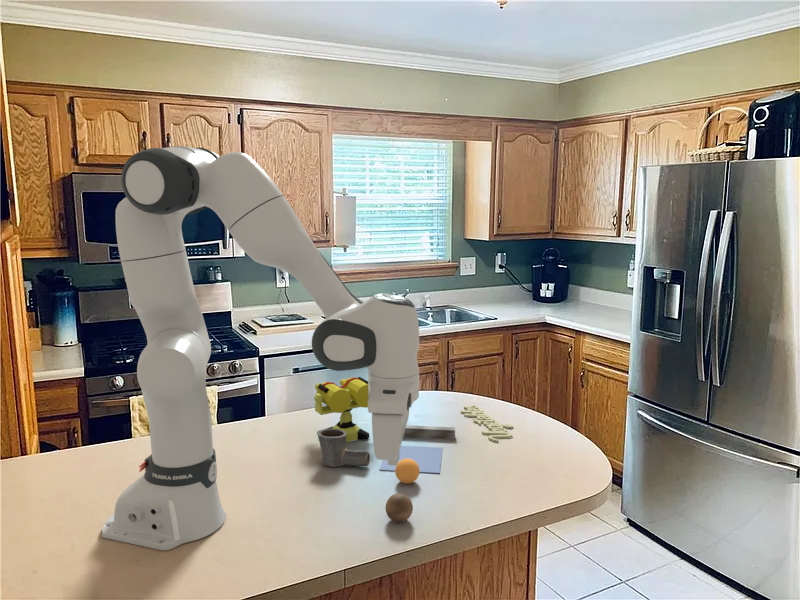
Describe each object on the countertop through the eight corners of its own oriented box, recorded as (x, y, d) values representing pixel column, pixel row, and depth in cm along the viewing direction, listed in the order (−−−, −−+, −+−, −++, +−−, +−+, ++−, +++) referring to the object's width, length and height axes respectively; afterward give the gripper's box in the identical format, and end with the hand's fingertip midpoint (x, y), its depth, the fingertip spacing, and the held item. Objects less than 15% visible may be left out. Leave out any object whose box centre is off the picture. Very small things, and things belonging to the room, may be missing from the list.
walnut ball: (383, 526, 118) (383, 501, 117) (387, 512, 123) (387, 487, 122) (411, 528, 117) (411, 502, 116) (413, 514, 122) (414, 489, 121)
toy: (358, 419, 173) (357, 368, 170) (382, 436, 161) (382, 382, 158) (302, 431, 164) (301, 378, 161) (324, 450, 152) (323, 393, 150)
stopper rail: (379, 435, 161) (379, 426, 161) (380, 432, 163) (380, 423, 163) (454, 439, 159) (455, 430, 159) (455, 436, 161) (455, 427, 161)
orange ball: (393, 487, 133) (393, 464, 132) (396, 476, 139) (396, 453, 138) (418, 488, 133) (418, 465, 132) (420, 477, 138) (420, 455, 137)
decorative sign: (527, 436, 160) (492, 441, 157) (526, 440, 160) (492, 444, 157) (484, 403, 185) (453, 406, 182) (484, 406, 185) (453, 409, 182)
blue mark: (379, 470, 141) (379, 469, 141) (387, 445, 155) (387, 444, 155) (439, 473, 140) (439, 472, 140) (442, 448, 154) (442, 447, 154)
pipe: (365, 473, 140) (365, 440, 139) (312, 468, 143) (312, 436, 141) (372, 462, 146) (371, 430, 145) (321, 457, 149) (320, 426, 147)
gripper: (383, 369, 116) (384, 437, 118) (365, 406, 96) (366, 488, 98) (416, 370, 115) (416, 439, 118) (405, 408, 95) (405, 490, 98)
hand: (393, 461), depth 108 cm, fingers closed
